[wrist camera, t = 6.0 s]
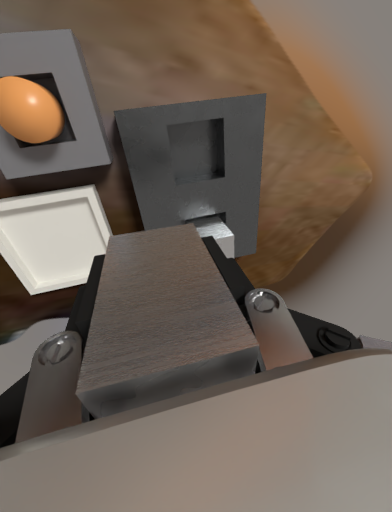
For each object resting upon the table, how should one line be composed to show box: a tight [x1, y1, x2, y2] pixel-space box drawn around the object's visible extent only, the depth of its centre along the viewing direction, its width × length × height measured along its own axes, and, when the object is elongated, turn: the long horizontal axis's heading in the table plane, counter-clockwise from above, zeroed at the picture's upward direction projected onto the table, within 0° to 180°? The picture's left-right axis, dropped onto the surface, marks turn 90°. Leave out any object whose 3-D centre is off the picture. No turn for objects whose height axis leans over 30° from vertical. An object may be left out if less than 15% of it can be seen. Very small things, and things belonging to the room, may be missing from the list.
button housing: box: [0, 29, 113, 179], centre depth 18 cm, size 9×9×3 cm
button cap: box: [0, 76, 65, 143], centre depth 17 cm, size 4×4×2 cm
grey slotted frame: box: [114, 93, 266, 258], centre depth 26 cm, size 18×14×3 cm
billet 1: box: [75, 223, 259, 420], centre depth 9 cm, size 4×4×7 cm
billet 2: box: [185, 214, 234, 258], centre depth 26 cm, size 4×4×7 cm
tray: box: [0, 184, 113, 295], centre depth 26 cm, size 12×12×2 cm
